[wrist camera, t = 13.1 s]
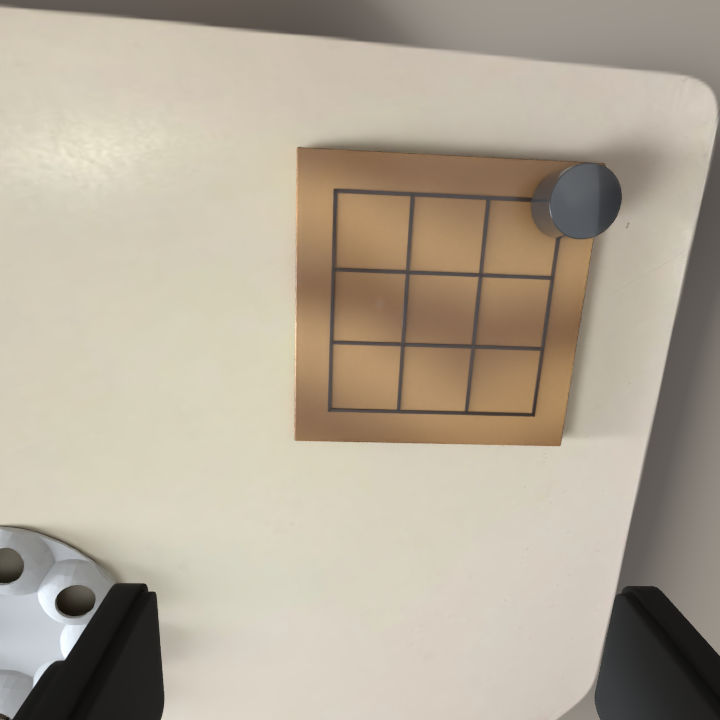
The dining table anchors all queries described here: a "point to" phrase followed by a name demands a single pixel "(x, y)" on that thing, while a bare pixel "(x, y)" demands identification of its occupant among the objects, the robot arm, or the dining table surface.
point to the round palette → (40, 611)
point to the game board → (431, 300)
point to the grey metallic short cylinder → (576, 201)
